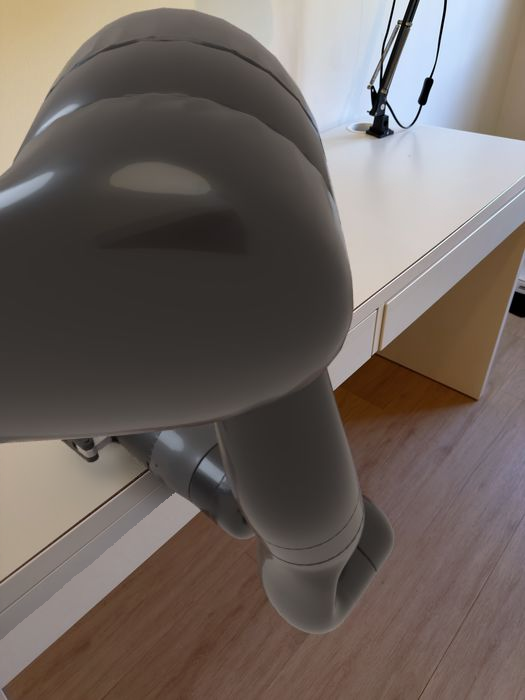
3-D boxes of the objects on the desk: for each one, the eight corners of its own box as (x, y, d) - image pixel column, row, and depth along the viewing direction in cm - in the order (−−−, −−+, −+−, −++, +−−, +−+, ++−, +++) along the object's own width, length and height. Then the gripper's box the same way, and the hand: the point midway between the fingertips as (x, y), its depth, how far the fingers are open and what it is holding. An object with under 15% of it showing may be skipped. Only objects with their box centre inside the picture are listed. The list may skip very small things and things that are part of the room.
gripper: (237, 375, 50) (136, 312, 59) (111, 465, 42) (16, 377, 51) (242, 429, 55) (148, 363, 64) (130, 519, 47) (40, 430, 56)
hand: (89, 369), depth 57 cm, fingers open, 8 cm apart
